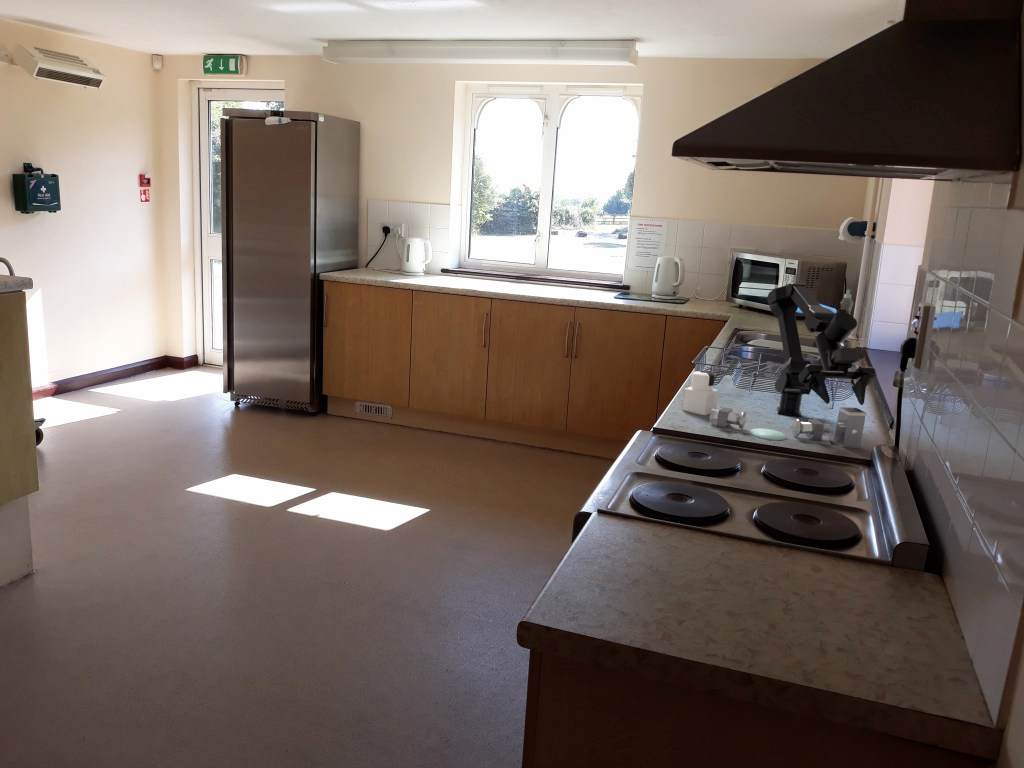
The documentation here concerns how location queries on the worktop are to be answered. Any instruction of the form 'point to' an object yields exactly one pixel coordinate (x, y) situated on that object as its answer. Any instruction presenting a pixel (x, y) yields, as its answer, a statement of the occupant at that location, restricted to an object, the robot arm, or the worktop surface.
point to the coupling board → (768, 432)
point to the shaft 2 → (811, 429)
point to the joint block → (849, 427)
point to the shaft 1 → (727, 418)
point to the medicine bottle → (700, 394)
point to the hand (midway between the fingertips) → (845, 403)
